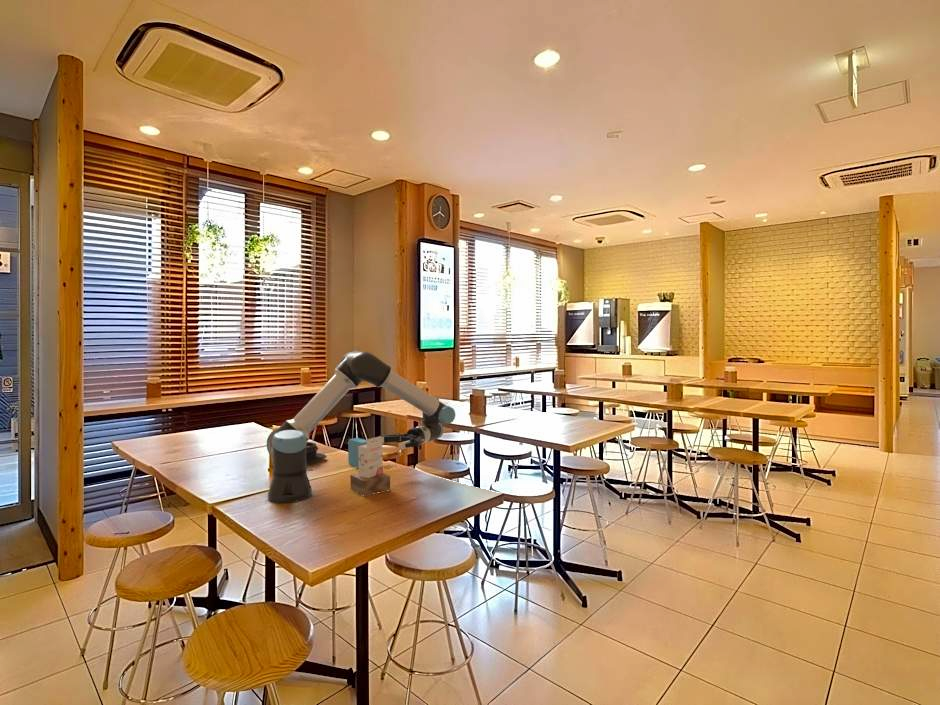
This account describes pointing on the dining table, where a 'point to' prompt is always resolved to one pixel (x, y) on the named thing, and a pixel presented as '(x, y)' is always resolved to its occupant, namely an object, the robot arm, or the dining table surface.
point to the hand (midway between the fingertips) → (385, 445)
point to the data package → (354, 450)
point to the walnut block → (370, 484)
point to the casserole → (313, 453)
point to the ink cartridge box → (370, 458)
